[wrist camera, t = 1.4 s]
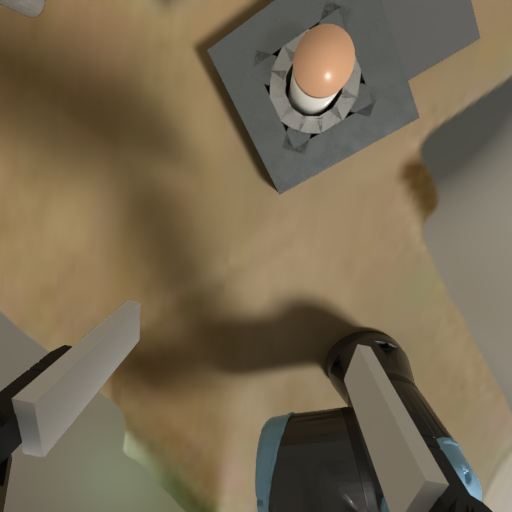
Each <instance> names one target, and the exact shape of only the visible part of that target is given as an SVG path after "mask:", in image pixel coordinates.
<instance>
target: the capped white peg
mask: <svg viewBox="0 0 512 512" xmlns="http://www.w3.org/2000/svg"><path fill="white" fill-rule="evenodd" d="M354 63H355V49H354V45H353V42H352V40H351V38H350V36H349V35H348V33H347V32H346V31H345V30H344V29H343V28H341V27H339V26H337V25H334V24H321V25H318V26H316V27H314V28H312V29H310V30H309V31H308V32H307V33H306V34H305V35H304V36H303V37H302V39H301V40H300V42H299V43H298V45H297V48H296V51H295V54H294V59H293V71H292V77H291V83H290V89H289V95H288V100H289V103H290V105H291V107H292V108H293V109H294V110H296V111H297V112H299V113H300V114H302V115H303V116H320V115H321V114H322V113H323V112H324V111H325V109H326V108H327V107H328V105H329V104H330V102H331V101H332V100H333V98H334V97H335V96H336V94H337V93H338V91H339V90H340V89H341V88H342V87H343V86H344V85H345V83H346V82H347V81H348V79H349V77H350V75H351V73H352V71H353V67H354Z"/></svg>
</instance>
